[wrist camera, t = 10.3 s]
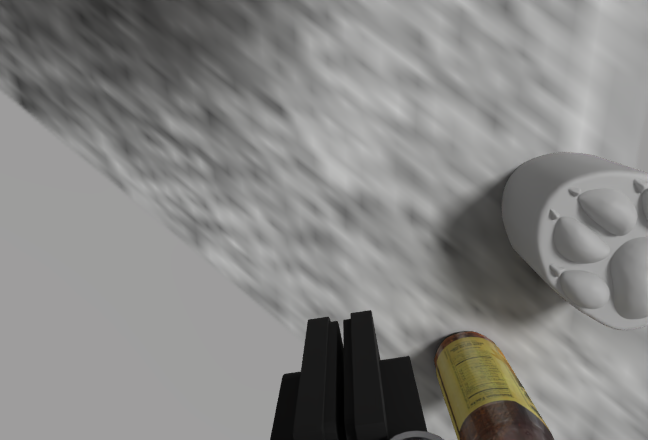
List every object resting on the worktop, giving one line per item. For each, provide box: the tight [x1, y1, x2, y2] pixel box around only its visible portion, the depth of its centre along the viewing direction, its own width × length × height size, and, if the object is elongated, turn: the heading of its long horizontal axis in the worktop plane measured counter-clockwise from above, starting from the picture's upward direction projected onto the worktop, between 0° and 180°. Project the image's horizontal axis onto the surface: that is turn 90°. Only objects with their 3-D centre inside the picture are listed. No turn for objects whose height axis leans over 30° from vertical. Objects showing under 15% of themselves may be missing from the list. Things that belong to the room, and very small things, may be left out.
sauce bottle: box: [434, 332, 554, 440], centre depth 33 cm, size 7×6×20 cm
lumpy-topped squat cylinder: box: [502, 152, 648, 330], centre depth 34 cm, size 10×13×9 cm
